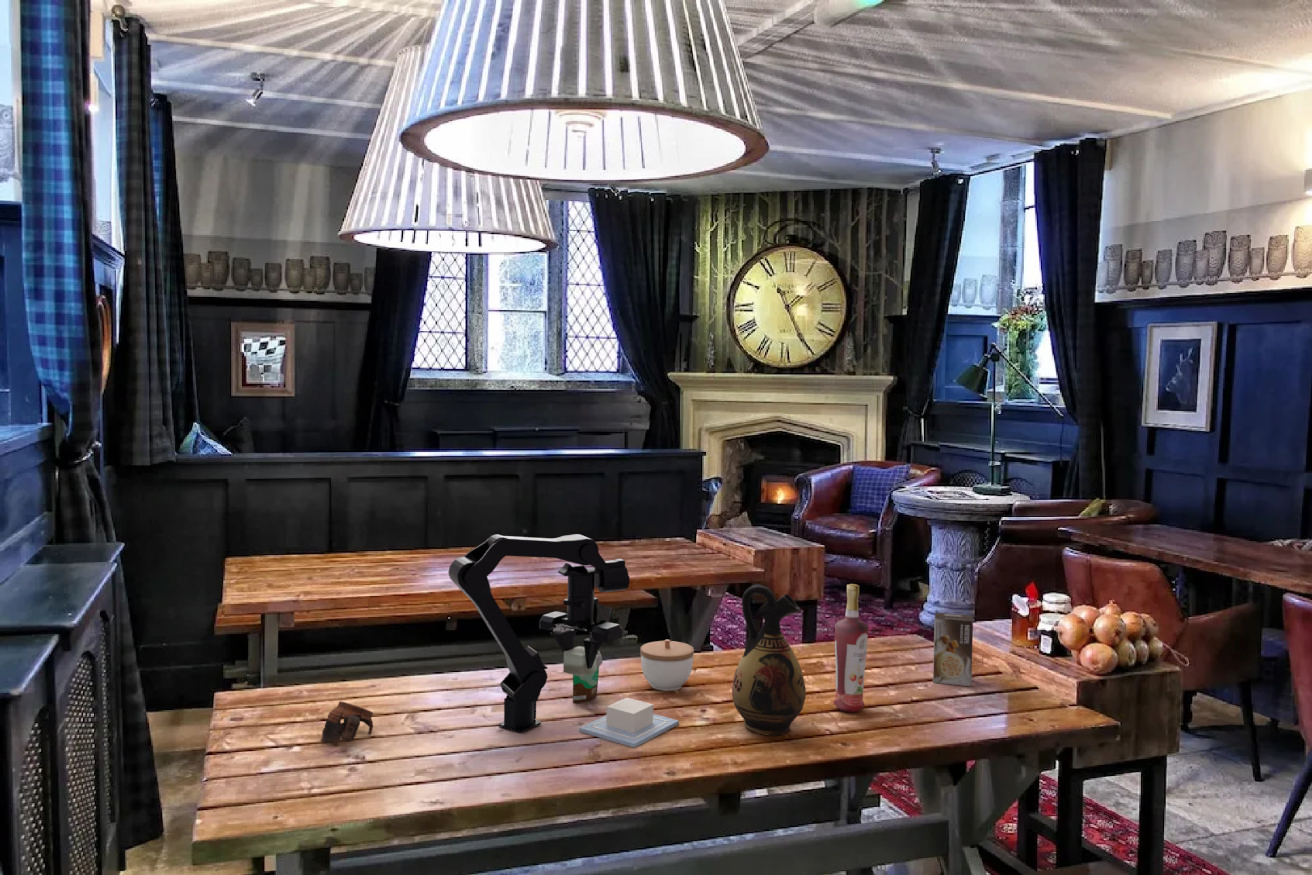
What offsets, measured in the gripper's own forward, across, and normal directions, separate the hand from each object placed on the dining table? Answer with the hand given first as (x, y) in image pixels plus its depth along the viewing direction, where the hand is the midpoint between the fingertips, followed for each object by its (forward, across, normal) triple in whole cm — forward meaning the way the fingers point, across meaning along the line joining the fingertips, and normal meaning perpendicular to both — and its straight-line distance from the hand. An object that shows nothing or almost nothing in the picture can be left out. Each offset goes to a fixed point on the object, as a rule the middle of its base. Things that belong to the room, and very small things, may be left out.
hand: (579, 665), depth 213 cm
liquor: (+11, -45, -40) cm, 61 cm away
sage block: (+1, 0, 0) cm, 1 cm away
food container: (+11, +6, -11) cm, 17 cm away
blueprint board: (+11, -13, -1) cm, 17 cm away
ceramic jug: (+11, -35, -19) cm, 41 cm away
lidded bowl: (+11, -4, -28) cm, 30 cm away
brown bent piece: (+11, +29, +38) cm, 49 cm away
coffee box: (+11, -57, -74) cm, 94 cm away
